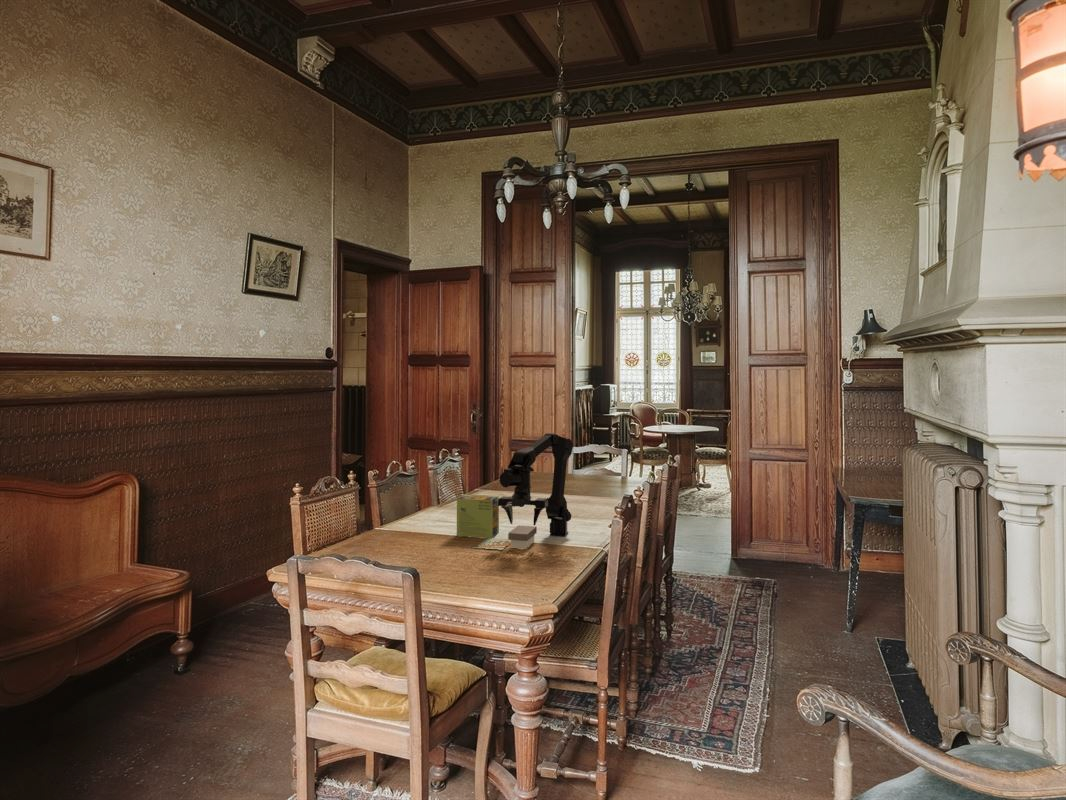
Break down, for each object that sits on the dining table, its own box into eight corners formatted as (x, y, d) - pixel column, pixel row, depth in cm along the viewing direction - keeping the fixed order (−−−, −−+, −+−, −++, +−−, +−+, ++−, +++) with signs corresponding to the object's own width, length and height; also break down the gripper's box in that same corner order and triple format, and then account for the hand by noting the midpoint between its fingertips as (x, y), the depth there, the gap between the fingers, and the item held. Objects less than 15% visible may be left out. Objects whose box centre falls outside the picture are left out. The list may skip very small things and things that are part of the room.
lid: (536, 532, 262) (536, 526, 262) (527, 540, 249) (527, 534, 249) (518, 531, 264) (518, 525, 264) (508, 539, 251) (508, 533, 251)
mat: (514, 540, 264) (514, 539, 264) (502, 550, 248) (502, 549, 248) (488, 538, 267) (488, 537, 267) (474, 548, 251) (474, 547, 251)
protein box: (493, 538, 267) (493, 499, 267) (456, 536, 270) (456, 498, 270) (499, 532, 278) (499, 495, 277) (464, 530, 281) (463, 494, 280)
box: (534, 542, 262) (534, 529, 261) (525, 549, 250) (525, 536, 250) (519, 541, 263) (519, 528, 263) (510, 548, 252) (510, 535, 251)
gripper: (493, 486, 251) (493, 527, 251) (541, 488, 246) (541, 530, 246) (502, 481, 261) (502, 521, 262) (548, 483, 256) (548, 524, 257)
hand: (522, 524), depth 256 cm, fingers open, 9 cm apart
